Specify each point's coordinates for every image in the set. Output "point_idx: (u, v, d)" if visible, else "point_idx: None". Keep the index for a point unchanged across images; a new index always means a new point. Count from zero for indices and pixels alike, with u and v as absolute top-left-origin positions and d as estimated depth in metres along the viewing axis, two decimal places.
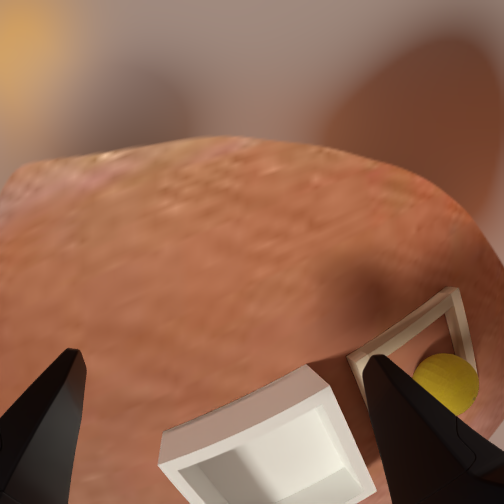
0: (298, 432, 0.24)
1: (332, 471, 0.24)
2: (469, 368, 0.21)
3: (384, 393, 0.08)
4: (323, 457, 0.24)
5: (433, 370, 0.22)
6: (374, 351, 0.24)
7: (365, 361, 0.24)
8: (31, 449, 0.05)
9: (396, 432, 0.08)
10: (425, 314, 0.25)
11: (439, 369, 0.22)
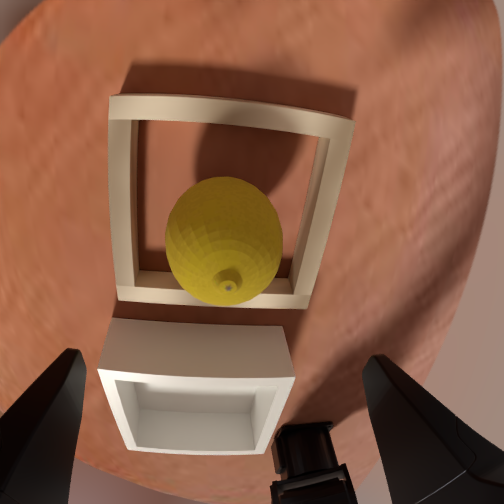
0: None
1: None
2: (187, 233, 0.13)
3: (384, 393, 0.08)
4: None
5: None
6: (117, 277, 0.19)
7: (123, 291, 0.19)
8: (31, 449, 0.05)
9: (396, 432, 0.08)
10: (109, 185, 0.16)
11: None
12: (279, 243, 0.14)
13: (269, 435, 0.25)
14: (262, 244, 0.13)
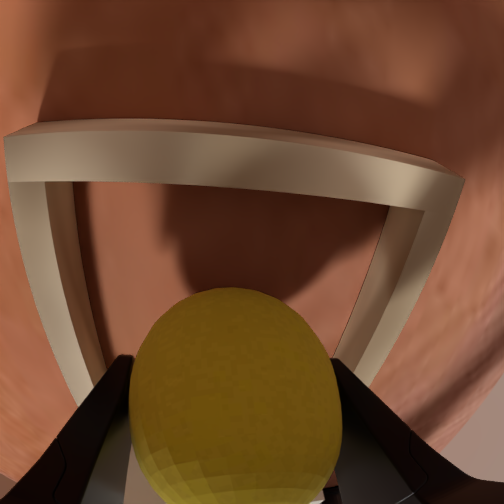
0: None
1: None
2: (164, 463, 0.05)
3: None
4: None
5: None
6: (77, 400, 0.11)
7: None
8: (98, 464, 0.05)
9: (346, 442, 0.07)
10: (34, 292, 0.08)
11: None
12: (340, 441, 0.06)
13: None
14: (315, 474, 0.05)
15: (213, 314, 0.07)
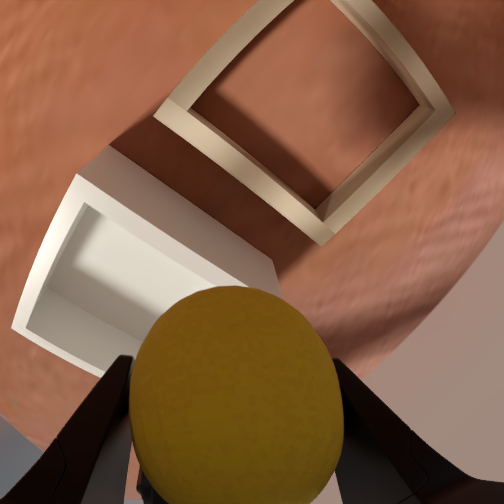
0: None
1: None
2: (165, 462, 0.05)
3: None
4: None
5: None
6: (177, 88, 0.14)
7: (169, 108, 0.15)
8: (98, 464, 0.05)
9: (346, 442, 0.07)
10: (257, 3, 0.12)
11: None
12: (342, 440, 0.06)
13: None
14: (317, 473, 0.05)
15: (214, 312, 0.07)
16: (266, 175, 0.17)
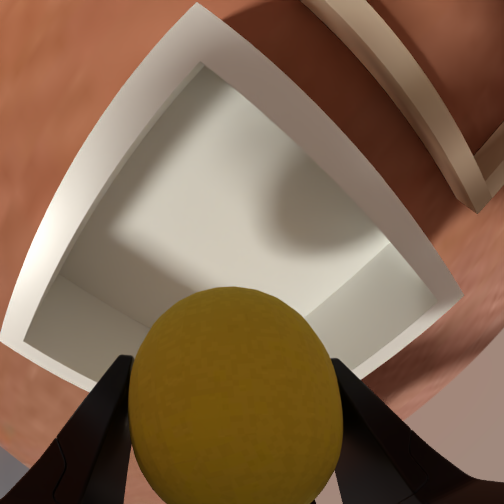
0: (254, 182, 0.12)
1: (368, 255, 0.15)
2: (164, 463, 0.05)
3: None
4: (337, 229, 0.14)
5: None
6: None
7: None
8: (98, 464, 0.05)
9: (346, 442, 0.07)
10: None
11: None
12: (341, 441, 0.06)
13: None
14: (316, 474, 0.05)
15: (213, 313, 0.07)
16: (443, 104, 0.10)
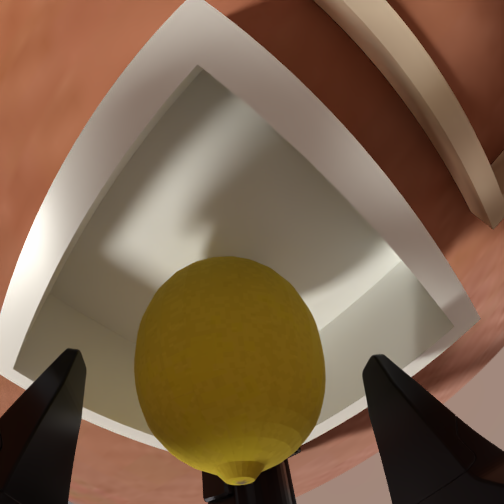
0: (258, 199, 0.11)
1: (379, 274, 0.14)
2: (165, 399, 0.06)
3: (384, 393, 0.08)
4: (347, 247, 0.13)
5: None
6: None
7: None
8: (31, 449, 0.05)
9: (396, 432, 0.08)
10: None
11: None
12: (323, 390, 0.08)
13: (307, 439, 0.12)
14: (299, 413, 0.07)
15: (211, 273, 0.08)
16: (463, 113, 0.09)
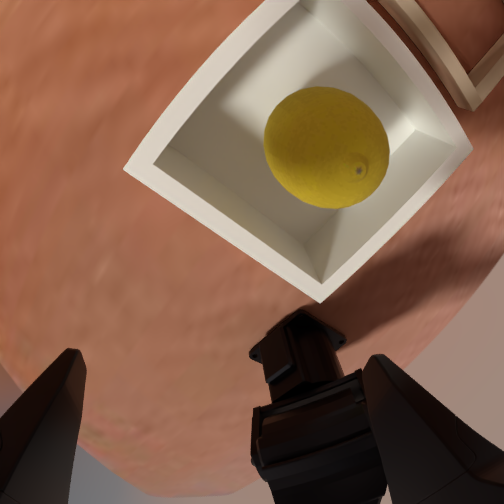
0: (326, 74, 0.16)
1: (401, 138, 0.18)
2: (309, 119, 0.11)
3: (384, 393, 0.08)
4: (379, 114, 0.17)
5: (268, 161, 0.14)
6: None
7: None
8: (31, 449, 0.05)
9: (396, 432, 0.08)
10: None
11: (270, 157, 0.14)
12: (388, 142, 0.12)
13: (371, 253, 0.17)
14: (381, 134, 0.11)
15: (315, 86, 0.13)
16: (439, 33, 0.14)
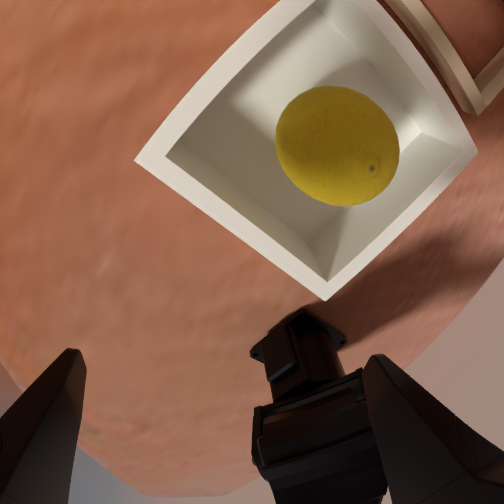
0: (336, 75, 0.16)
1: (407, 140, 0.19)
2: (324, 117, 0.11)
3: (384, 393, 0.08)
4: None
5: (280, 157, 0.14)
6: None
7: None
8: (31, 449, 0.05)
9: (396, 432, 0.08)
10: None
11: (282, 153, 0.14)
12: None
13: (376, 252, 0.17)
14: (392, 134, 0.12)
15: None
16: (446, 38, 0.14)
